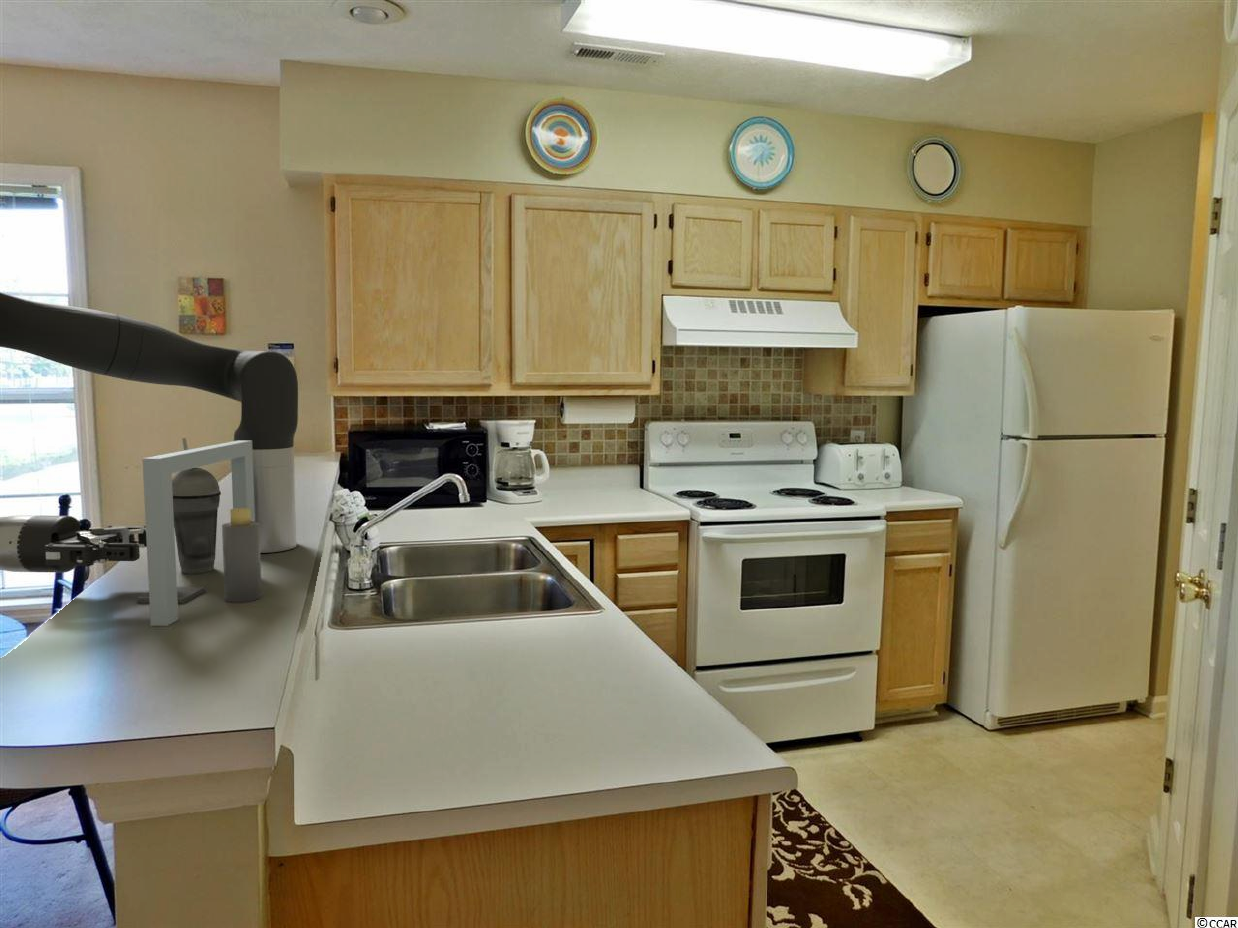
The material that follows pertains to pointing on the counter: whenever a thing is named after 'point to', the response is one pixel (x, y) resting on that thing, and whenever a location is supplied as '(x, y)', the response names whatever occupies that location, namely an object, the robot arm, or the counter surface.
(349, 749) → the counter surface
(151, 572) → the rectangular arch frame
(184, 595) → the mat
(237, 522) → the bottle
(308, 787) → the counter surface
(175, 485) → the beverage cup
